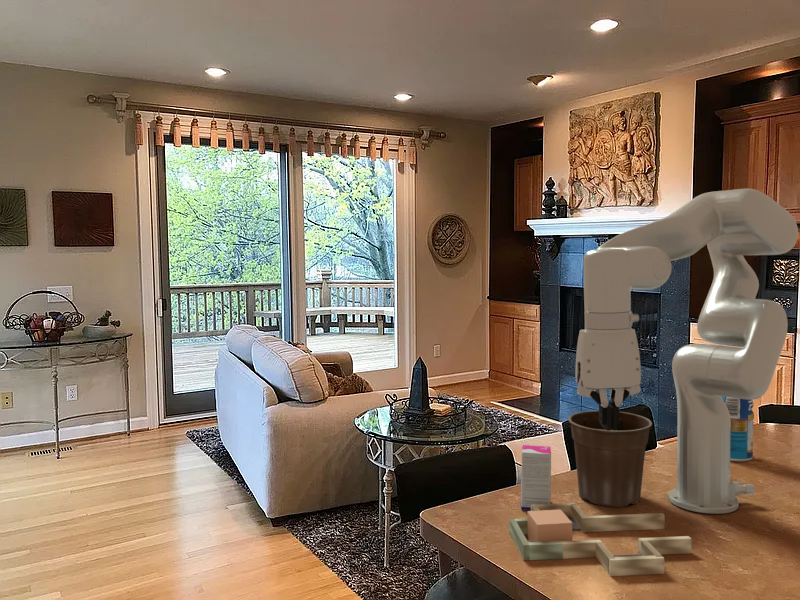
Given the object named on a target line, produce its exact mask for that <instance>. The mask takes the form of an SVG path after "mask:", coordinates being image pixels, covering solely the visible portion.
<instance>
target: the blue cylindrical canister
mask: <svg viewBox="0 0 800 600" xmlns="http://www.w3.org/2000/svg"><path fill="white" fill-rule="evenodd" d="M721 397H722V399H723V401H724V402H725V404H726V406H727V408H728V411H729V414H730V420H731V427H730V462H748V461H751V460H753V458H754V451H753V450H754V419H755V413H754V411H753V408H754V406H755V405H754V400H746V399H738V398H732V397H726V396H721Z"/></svg>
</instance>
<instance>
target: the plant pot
mask: <svg viewBox="0 0 800 600" xmlns="http://www.w3.org/2000/svg"><path fill="white" fill-rule="evenodd" d="M568 423H569V424H570V430H571V438H572V439H573V444H574V453H575V456H574V457H575V464H576V473H577V474H576V476H577V486H578V487H577V488H578V489H577V490H578V495H579V497H580V498H581V499H583V500H588V501H589V503H590V504H594V505H598V506H602V507H608V508H624V507H625V508H626V507H628V505H630V504H632V505H636V504H638V503H639V502H640V500H641V497H642V485H643V475H644V464H645V457H646V454H645V453H646V447H647V444H648V443H649V435H650V429H651V428H652V426H653V422H652V421H651V420H650V419H649V418H647V417H645V416H642V415H640V414H639V415H638V414H635V413H631V412H625V411H619V424H617V430H610V431H607V430H606V429H605V428H603V427H602V425H601V424H600V422H599V410H586V411H580V412H579V411H578V412H575V413H572V414H570V416H568Z"/></svg>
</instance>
